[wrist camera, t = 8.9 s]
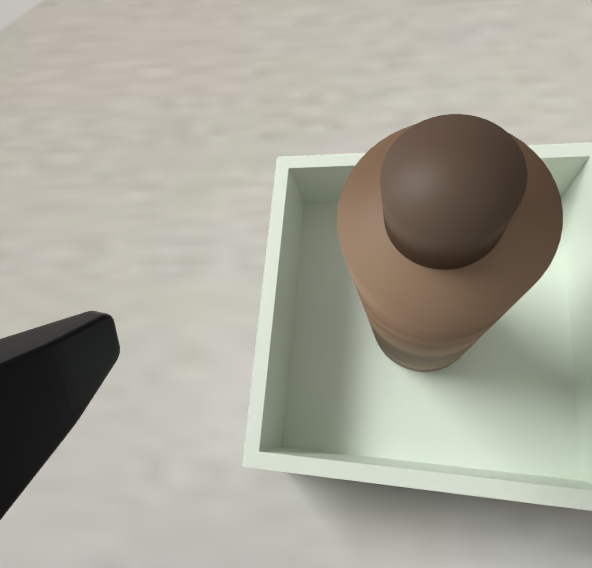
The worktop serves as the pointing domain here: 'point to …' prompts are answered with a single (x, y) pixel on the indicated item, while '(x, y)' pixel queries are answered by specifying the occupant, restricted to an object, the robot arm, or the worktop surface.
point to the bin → (414, 384)
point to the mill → (446, 234)
